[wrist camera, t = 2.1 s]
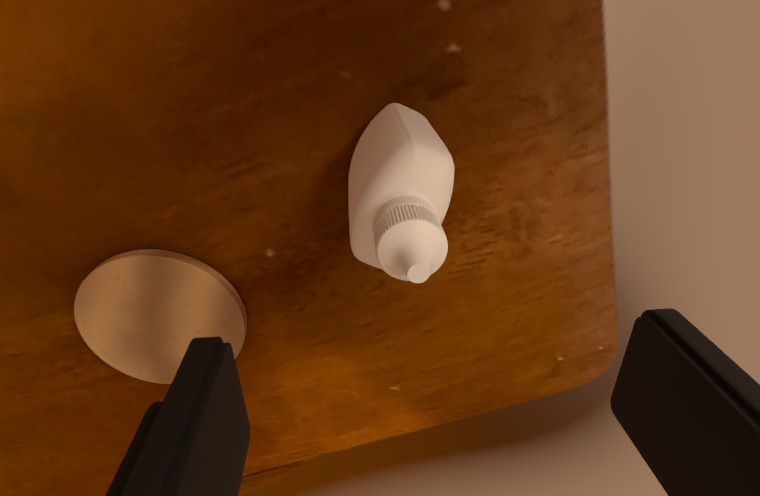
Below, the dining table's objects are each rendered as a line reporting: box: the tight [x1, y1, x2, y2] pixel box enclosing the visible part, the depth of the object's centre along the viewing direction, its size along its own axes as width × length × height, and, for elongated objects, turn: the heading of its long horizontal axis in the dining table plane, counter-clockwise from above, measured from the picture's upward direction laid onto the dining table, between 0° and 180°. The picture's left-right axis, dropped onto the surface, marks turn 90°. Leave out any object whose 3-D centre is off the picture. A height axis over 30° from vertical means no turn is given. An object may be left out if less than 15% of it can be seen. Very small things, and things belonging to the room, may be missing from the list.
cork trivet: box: [74, 249, 247, 384], centre depth 28 cm, size 10×10×1 cm
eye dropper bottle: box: [348, 103, 454, 283], centre depth 19 cm, size 4×6×12 cm
